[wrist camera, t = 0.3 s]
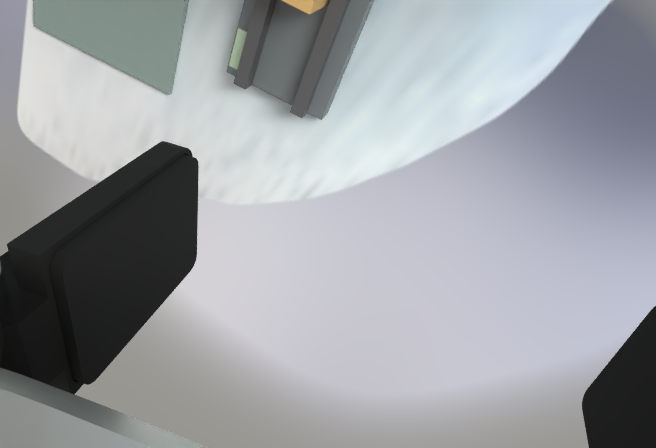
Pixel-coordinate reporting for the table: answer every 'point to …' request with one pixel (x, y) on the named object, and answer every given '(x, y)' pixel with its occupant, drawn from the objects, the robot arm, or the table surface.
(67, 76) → the table surface
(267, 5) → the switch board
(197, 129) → the table surface
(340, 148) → the table surface
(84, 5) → the tool mat
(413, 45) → the table surface
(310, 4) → the tan orange cube block
